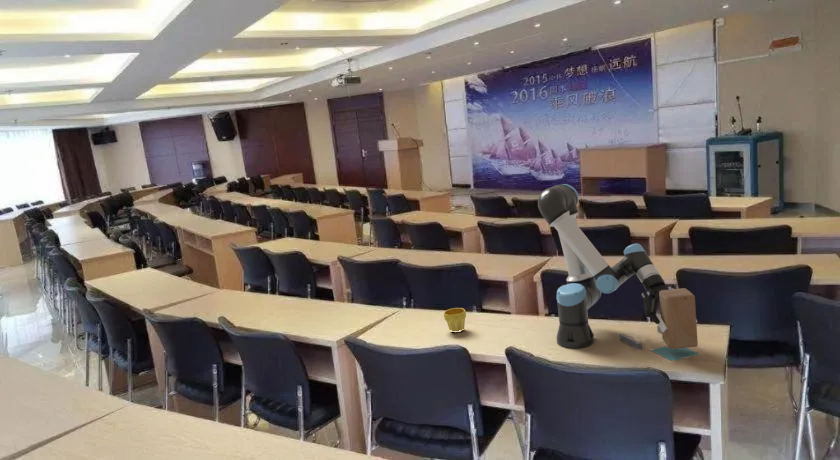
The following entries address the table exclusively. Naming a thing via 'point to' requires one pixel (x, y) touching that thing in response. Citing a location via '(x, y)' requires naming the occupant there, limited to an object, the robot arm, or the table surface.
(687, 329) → the wooden block
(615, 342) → the table surface
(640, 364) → the table surface
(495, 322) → the table surface
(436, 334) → the table surface
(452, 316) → the plant pot
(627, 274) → the robot arm
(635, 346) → the chute
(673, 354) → the mat
